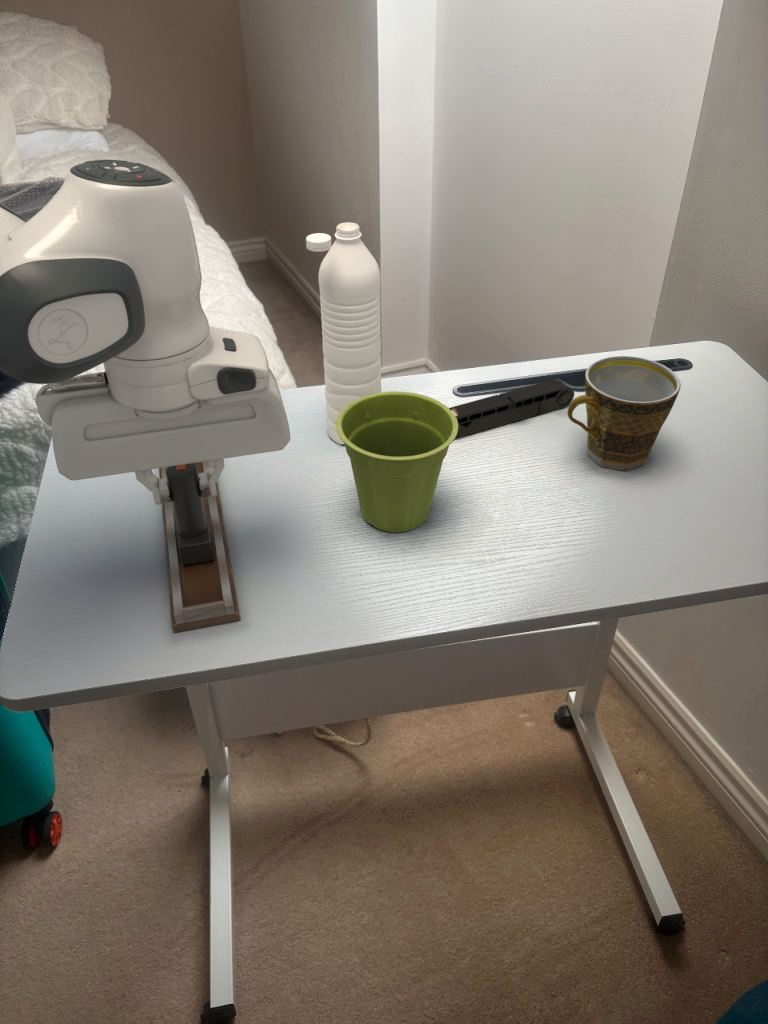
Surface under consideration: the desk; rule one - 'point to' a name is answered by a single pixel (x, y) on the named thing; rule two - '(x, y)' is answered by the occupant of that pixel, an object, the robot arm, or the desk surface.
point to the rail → (200, 572)
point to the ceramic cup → (625, 409)
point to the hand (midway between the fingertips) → (186, 496)
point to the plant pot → (396, 454)
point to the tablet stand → (512, 406)
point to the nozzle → (189, 514)
